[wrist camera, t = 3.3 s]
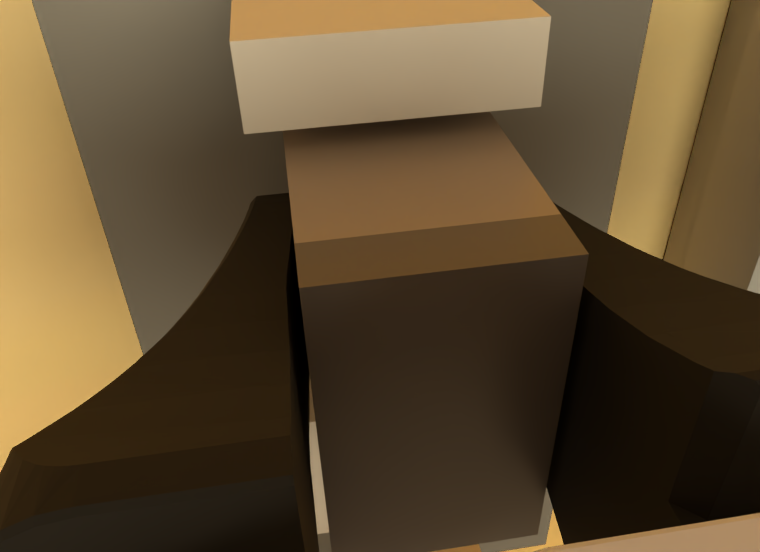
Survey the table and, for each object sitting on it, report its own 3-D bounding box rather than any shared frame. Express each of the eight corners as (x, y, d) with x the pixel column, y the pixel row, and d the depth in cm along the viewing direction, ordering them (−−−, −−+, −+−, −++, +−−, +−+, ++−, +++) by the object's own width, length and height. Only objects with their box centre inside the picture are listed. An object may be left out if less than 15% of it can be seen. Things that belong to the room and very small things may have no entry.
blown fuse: (444, 288, 15) (537, 534, 10) (304, 305, 15) (333, 567, 10) (451, 57, 12) (588, 253, 7) (276, 72, 12) (299, 288, 7)
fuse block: (624, -75, 13) (775, -9, 9) (529, 503, 23) (582, 640, 19) (49, -38, 12) (-39, 54, 8) (220, 551, 22) (216, 706, 18)
